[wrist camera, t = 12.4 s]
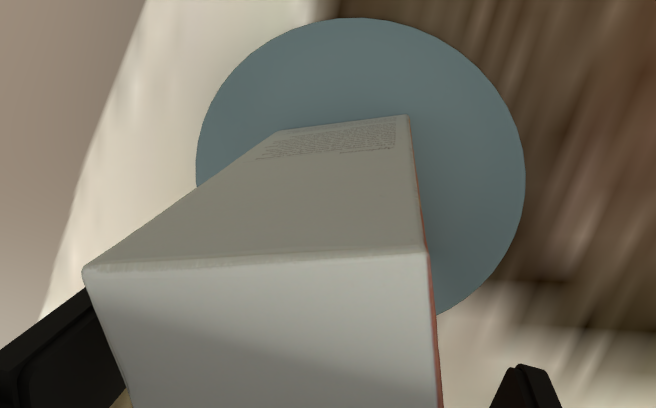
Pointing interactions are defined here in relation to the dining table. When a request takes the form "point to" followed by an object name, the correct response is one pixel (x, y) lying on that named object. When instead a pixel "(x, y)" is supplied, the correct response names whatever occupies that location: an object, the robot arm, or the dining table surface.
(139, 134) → the dining table surface
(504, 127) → the dish
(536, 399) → the robot arm
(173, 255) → the small box
